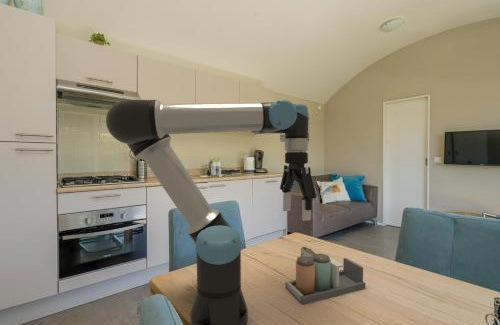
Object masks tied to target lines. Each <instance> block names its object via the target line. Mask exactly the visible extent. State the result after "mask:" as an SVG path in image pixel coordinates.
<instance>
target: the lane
mask: <svg viewBox="0 0 500 325" xmlns="http://www.w3.org/2000/svg"><path fill="white" fill-rule="evenodd" d="M342 265H343V267H342V268H343V269H342V270H341V269H339V287H338V288H333V287H332V286H331V289H330V290H326V291H322V292H319V291H316V290H315V293H314V294H310V295H306V296H303V294H302V293H301V292H299V291H298V290H297V289H296V279H295V280H290V281H285V283H284V284H285V289H286V290H287V291H288V292H289V293H290V294H291V295H292V296H293V297H294V298H295V299H296V300H297V301H298V302H299V303H300V304H301V305H305V304H306V305H307V304H309V303H310V304H311V303H314V302H317V301H322V300H326V299H329V298H333V297H337V296H341V295H344V294H349V293H352V292H356V291H360V290H364V289H366V282H365V281H364V266H362V265H361V264H359V263H356V262H355V261H352V260H351V259H349V258H347V257H344V258H343V263H342Z"/></svg>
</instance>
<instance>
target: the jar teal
mask: <svg viewBox="0 0 500 325" xmlns="http://www.w3.org/2000/svg"><path fill="white" fill-rule="evenodd" d="M330 258H331V257H330V256H329V255H327V254H325V253H315V254H314V255H313V257H312V259H314V262H315V290H316V291H319V292H322V291H326V290H330V289H331V260H330Z"/></svg>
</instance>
